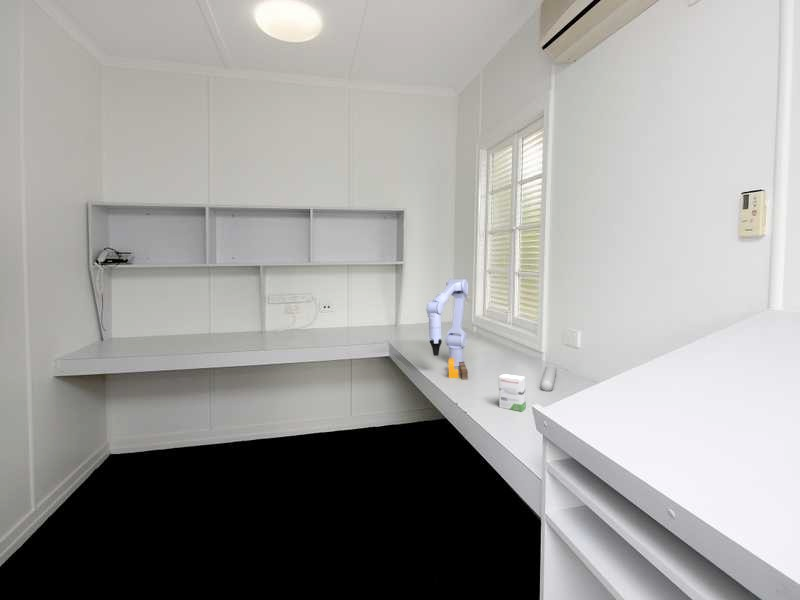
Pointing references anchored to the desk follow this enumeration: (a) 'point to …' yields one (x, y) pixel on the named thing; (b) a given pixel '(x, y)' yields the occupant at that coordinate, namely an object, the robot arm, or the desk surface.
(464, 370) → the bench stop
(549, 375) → the tube
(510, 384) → the ink box
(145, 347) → the desk surface
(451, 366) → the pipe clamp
